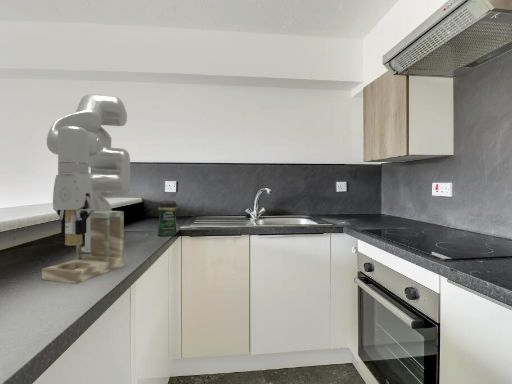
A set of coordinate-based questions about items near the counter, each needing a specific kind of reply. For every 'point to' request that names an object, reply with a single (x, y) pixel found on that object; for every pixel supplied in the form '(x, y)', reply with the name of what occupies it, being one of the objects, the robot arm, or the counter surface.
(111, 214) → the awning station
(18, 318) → the counter surface
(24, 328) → the counter surface
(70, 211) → the sprinkles bottle
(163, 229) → the coffee jar
